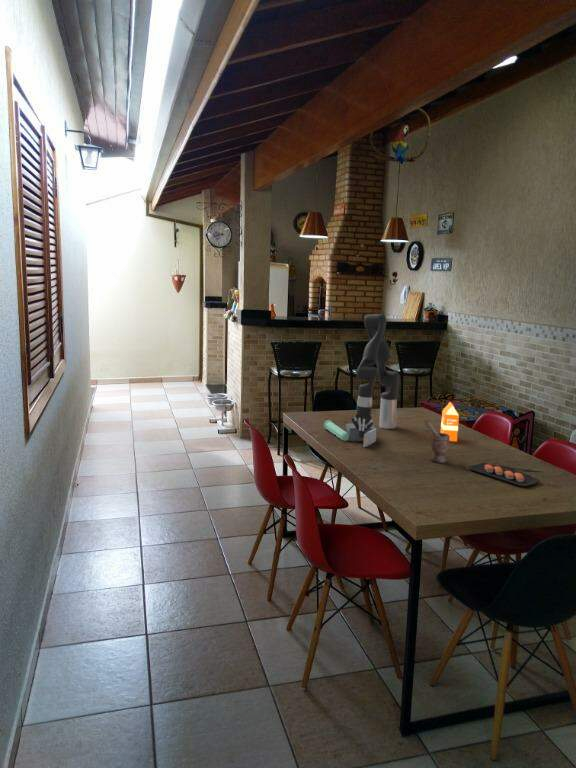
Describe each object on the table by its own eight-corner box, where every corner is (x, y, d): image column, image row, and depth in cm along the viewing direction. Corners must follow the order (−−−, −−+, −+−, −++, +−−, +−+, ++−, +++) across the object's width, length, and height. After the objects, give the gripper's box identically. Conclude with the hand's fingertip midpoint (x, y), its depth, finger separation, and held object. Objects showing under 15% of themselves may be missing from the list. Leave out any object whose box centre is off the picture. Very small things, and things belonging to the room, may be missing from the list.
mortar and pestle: (426, 463, 271) (429, 422, 267) (420, 457, 279) (423, 418, 276) (449, 463, 272) (453, 422, 268) (443, 458, 280) (447, 418, 277)
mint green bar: (349, 430, 302) (331, 418, 325) (339, 435, 301) (322, 422, 324) (352, 440, 304) (334, 427, 327) (342, 444, 303) (325, 431, 326)
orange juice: (453, 437, 320) (457, 402, 316) (456, 441, 311) (460, 405, 308) (439, 436, 321) (442, 401, 317) (442, 440, 312) (445, 404, 308)
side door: (374, 440, 305) (375, 427, 304) (377, 441, 304) (378, 428, 303) (363, 446, 293) (363, 433, 292) (366, 447, 292) (367, 434, 291)
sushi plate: (465, 471, 264) (466, 463, 263) (502, 460, 282) (503, 453, 281) (524, 490, 241) (525, 482, 240) (560, 478, 259) (561, 470, 258)
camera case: (370, 436, 315) (371, 422, 314) (374, 441, 305) (375, 426, 304) (345, 435, 314) (346, 421, 312) (349, 441, 304) (350, 426, 302)
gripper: (379, 405, 293) (376, 438, 296) (355, 401, 299) (353, 433, 303) (373, 408, 286) (370, 441, 290) (349, 404, 293) (347, 436, 296)
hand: (361, 437), depth 296 cm, fingers closed
